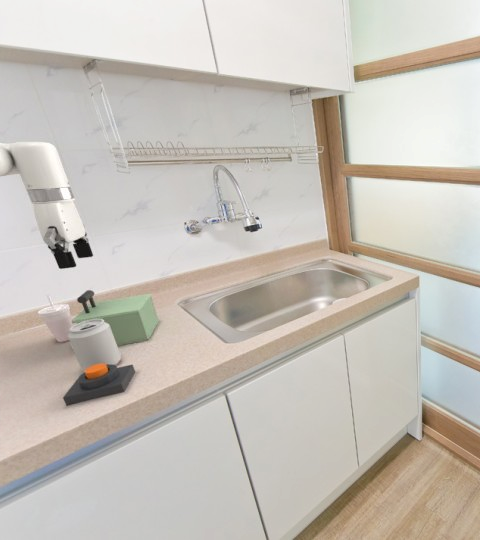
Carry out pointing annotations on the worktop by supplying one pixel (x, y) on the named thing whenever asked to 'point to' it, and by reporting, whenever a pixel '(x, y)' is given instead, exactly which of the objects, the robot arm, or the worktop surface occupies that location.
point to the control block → (100, 385)
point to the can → (93, 343)
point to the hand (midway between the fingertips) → (77, 262)
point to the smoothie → (57, 320)
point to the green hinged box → (134, 325)
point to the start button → (96, 371)
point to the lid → (109, 306)
